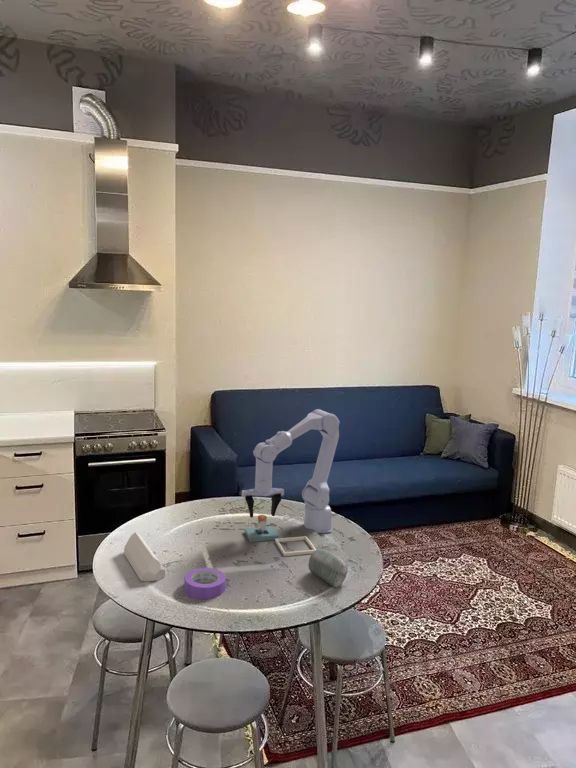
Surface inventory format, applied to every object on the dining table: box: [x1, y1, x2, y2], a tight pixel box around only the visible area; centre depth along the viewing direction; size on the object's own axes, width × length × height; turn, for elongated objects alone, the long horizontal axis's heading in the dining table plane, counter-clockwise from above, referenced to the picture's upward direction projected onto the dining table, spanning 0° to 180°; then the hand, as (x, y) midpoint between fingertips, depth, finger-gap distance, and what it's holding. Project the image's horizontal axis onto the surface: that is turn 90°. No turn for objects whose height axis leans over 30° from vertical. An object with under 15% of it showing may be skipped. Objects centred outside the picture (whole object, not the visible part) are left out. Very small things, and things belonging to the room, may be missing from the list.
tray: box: [274, 535, 318, 557], centre depth 195 cm, size 11×11×2 cm
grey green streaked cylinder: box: [308, 548, 348, 587], centre depth 177 cm, size 14×10×10 cm
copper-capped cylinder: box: [256, 514, 268, 535], centre depth 202 cm, size 3×3×7 cm
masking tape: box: [183, 567, 226, 600], centre depth 169 cm, size 12×12×4 cm
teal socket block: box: [244, 525, 280, 543], centre depth 203 cm, size 10×8×3 cm
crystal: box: [123, 531, 166, 582], centre depth 181 cm, size 7×7×24 cm
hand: (262, 515), depth 202 cm, fingers open, 7 cm apart
